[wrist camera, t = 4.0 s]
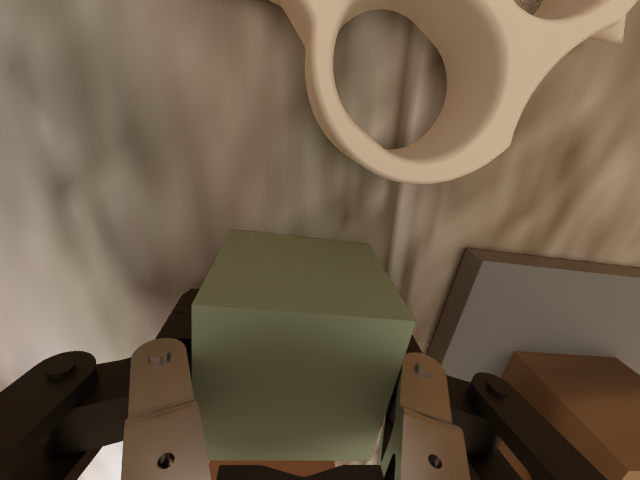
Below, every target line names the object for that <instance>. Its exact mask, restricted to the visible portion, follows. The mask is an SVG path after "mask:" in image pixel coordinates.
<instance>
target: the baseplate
mask: <svg viewBox="0 0 640 480" xmlns="http://www.w3.org/2000/svg"><path fill="white" fill-rule="evenodd" d="M514 351H523V352H539V353H554V354H570V355H586V356H602V357H616V358H617V359H619V360H620V361H621V362H623V363H624V364H625V365H627V366H628V367H629V368H631V369H632V370H634V371H635V372H636V373H638V374H639V375H640V268H634V267H625V266H617V265H608V264H599V263H591V262H582V261H573V260H565V259H556V258H548V257H539V256H530V255H522V254H513V253H504V252H496V251H487V250H479V249H470V248H466V250H465V253H464V256H463V258H462V261H461V264H460V266H459V269H458V272H457V275H456V277H455V280H454V283H453V285H452V288H451V291H450V293H449V296H448V299H447V302H446V304H445V307H444V310H443V312H442V315H441V318H440V321H439V323H438V326H437V329H436V331H435V334H434V337H433V339H432V342H431V345H430V348H429V350H428V353H427V355H428V356H430V357H432V358H433V359H435V360H436V361H437V362H438V363H440V364H441V366H442V367H443V368H444V370H445V372H446V375H448V376H451V377H455V378H458V379H461V380H464V381H468V382H471V380H472V378H473V376H474V375H475V374H476V373H479V372H485V373H490V374H493V375H495V376H498V377H500V378H501V376H502V374H503V373H504V371H505V369H506V367H507V365H508V363H509V361H510V359H511V357H512V355H513V353H514Z"/></svg>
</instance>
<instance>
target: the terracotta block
mask: <svg viewBox="0 0 640 480" xmlns="http://www.w3.org/2000/svg"><path fill="white" fill-rule="evenodd" d="M219 465H263V466H266V467H270V468H273V469H277V470H280V471H283V472H287V473H290V474H294V475H297V476H301V477H305V476H309V475H313V474H316V473H319V472H322V471H326V470H329V469H332V468H335V464H334V461H299V460H210V463H209V469H210V474H211V480H216V479H217V474H218V469H219Z"/></svg>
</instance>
